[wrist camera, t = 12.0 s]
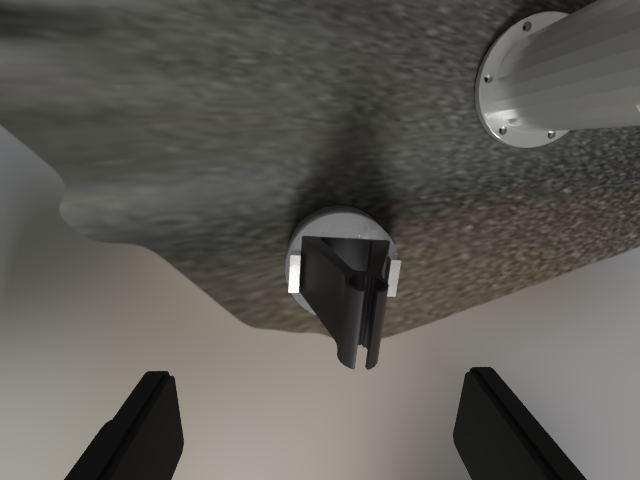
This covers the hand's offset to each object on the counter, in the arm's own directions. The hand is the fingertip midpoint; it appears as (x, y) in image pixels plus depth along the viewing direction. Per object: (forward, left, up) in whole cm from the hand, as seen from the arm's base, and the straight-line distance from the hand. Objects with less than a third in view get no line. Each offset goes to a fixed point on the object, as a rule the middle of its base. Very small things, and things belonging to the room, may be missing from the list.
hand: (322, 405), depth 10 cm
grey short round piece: (-4, +4, -26) cm, 27 cm away
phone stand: (-4, +4, -22) cm, 22 cm away
